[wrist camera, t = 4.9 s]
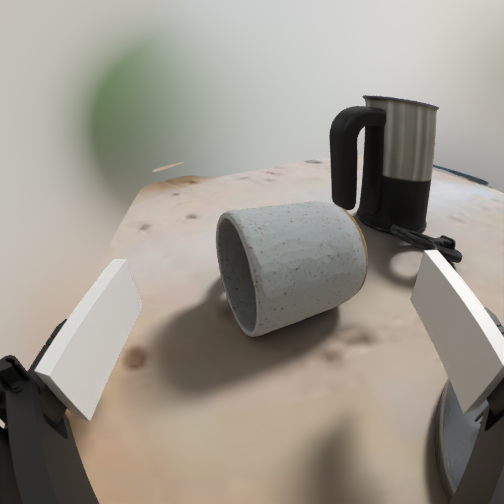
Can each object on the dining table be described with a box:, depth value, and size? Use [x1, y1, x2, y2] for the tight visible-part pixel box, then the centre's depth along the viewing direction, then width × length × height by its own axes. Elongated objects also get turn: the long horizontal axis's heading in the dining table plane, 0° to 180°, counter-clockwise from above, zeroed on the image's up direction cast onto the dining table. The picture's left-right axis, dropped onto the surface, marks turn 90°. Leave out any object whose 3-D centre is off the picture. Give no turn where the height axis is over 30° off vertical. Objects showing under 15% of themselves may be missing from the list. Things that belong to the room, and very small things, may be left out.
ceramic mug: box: [216, 202, 368, 337], centre depth 19 cm, size 11×8×8 cm
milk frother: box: [330, 95, 462, 263], centre depth 25 cm, size 14×16×15 cm
